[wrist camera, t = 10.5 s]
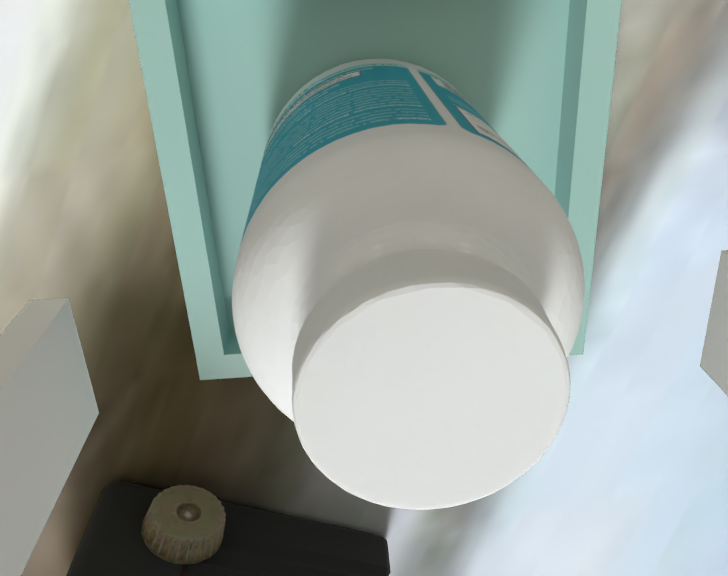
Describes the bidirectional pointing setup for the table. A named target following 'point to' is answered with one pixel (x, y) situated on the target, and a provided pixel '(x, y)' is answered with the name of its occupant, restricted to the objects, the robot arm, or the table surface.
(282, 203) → the pill bottle
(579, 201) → the tray
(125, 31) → the table surface
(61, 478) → the robot arm
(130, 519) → the camera
